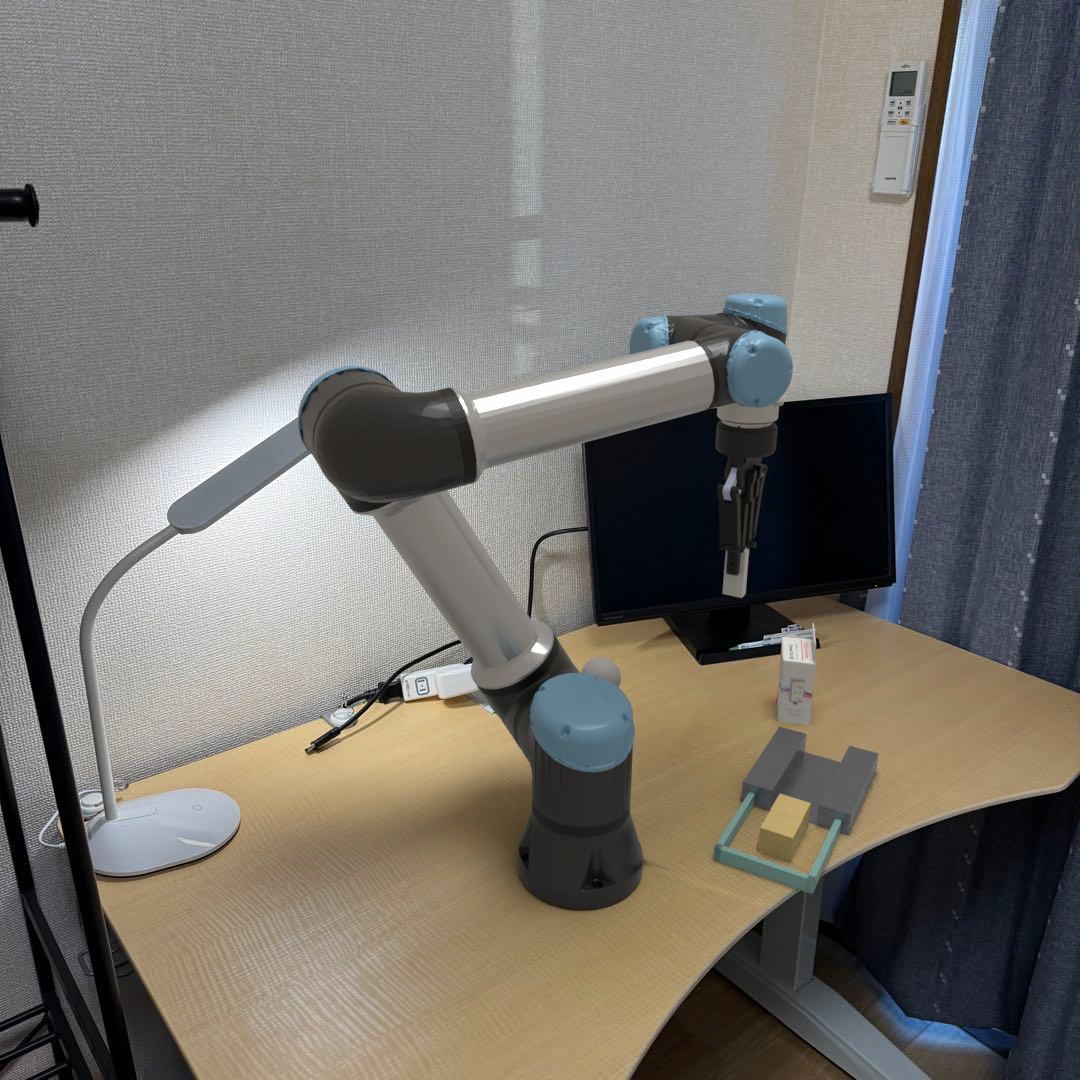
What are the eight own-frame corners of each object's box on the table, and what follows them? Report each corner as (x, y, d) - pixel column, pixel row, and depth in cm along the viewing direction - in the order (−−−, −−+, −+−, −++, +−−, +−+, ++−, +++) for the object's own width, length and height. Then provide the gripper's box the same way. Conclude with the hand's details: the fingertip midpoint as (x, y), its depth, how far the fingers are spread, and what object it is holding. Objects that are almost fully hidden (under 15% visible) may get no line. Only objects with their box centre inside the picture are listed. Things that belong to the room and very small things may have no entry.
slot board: (847, 842, 121) (851, 814, 119) (740, 808, 127) (742, 781, 126) (875, 779, 134) (878, 753, 132) (776, 751, 140) (779, 726, 139)
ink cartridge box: (774, 701, 154) (782, 618, 149) (806, 704, 153) (815, 620, 148) (776, 728, 146) (784, 641, 141) (809, 732, 145) (819, 645, 140)
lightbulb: (620, 734, 145) (622, 669, 141) (579, 733, 145) (581, 668, 141) (618, 713, 150) (620, 650, 147) (579, 712, 151) (580, 649, 147)
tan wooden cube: (789, 865, 116) (792, 838, 114) (757, 854, 118) (760, 827, 116) (799, 847, 119) (802, 820, 118) (767, 836, 121) (770, 810, 119)
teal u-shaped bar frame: (811, 902, 111) (813, 881, 110) (712, 867, 116) (714, 847, 115) (839, 840, 121) (841, 820, 120) (747, 811, 127) (749, 791, 126)
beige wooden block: (798, 846, 119) (801, 819, 118) (767, 836, 121) (770, 809, 120) (807, 829, 122) (810, 803, 121) (777, 819, 124) (779, 793, 123)
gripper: (760, 435, 113) (745, 617, 121) (791, 414, 124) (776, 583, 132) (700, 428, 117) (689, 605, 125) (736, 408, 127) (724, 572, 135)
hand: (734, 593), depth 128 cm, fingers closed
